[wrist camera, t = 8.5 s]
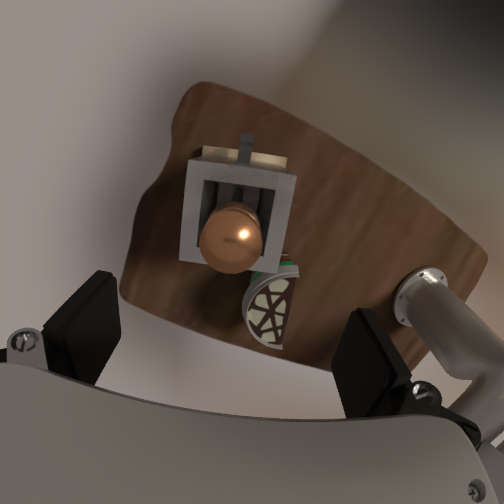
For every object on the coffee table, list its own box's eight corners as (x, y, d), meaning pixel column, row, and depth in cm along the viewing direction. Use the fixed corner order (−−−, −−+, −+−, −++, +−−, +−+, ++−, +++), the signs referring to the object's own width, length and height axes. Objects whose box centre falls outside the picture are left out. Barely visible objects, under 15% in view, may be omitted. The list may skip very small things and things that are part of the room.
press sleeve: (282, 142, 35) (302, 141, 22) (266, 228, 39) (276, 273, 26) (213, 132, 34) (193, 125, 21) (201, 219, 38) (178, 260, 25)
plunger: (261, 176, 36) (278, 211, 17) (255, 214, 38) (264, 286, 19) (221, 170, 35) (194, 199, 17) (216, 208, 37) (187, 275, 19)
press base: (285, 157, 37) (287, 158, 35) (271, 232, 41) (272, 236, 39) (205, 145, 36) (203, 145, 35) (196, 221, 40) (193, 225, 39)
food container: (247, 238, 42) (247, 267, 32) (288, 243, 42) (300, 272, 33) (238, 309, 46) (237, 349, 37) (275, 312, 46) (282, 352, 37)
